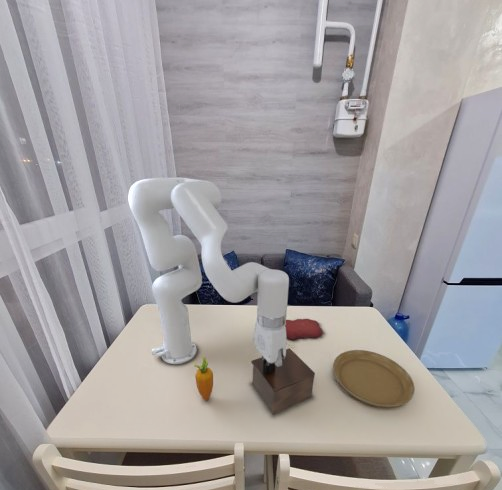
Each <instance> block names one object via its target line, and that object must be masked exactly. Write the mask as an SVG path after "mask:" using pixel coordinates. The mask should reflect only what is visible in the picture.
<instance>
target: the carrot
mask: <svg viewBox="0 0 502 490" xmlns="http://www.w3.org/2000/svg"><path fill="white" fill-rule="evenodd" d="M201 358H202V359H201V360H202V362H201V365H198V364H193V366H194V367H196V368H198V369H197V370H196V373H195V376H194V378H195V384H196V388H197V390H198V393H199V395H200V396H201V398H202V399H203V400H204V401H206V402H207V401H209V399H210V398H211V395H212V393H213V388H214V387H213V386H214V372H213V371H212V369H211V368H210V367H208V366H209V362H208V361H207V359H206V357H201Z"/></svg>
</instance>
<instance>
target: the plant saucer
mask: <svg viewBox="0 0 502 490" xmlns="http://www.w3.org/2000/svg"><path fill="white" fill-rule="evenodd" d="M332 369H333V374H334V376H335V378H336V381H337V382H338V383H339V386H341V387H342V388H343V389H344V391H345V392H347V393H348V394H349V395H350V396H352V397H353V398H354V399H356V400H358V401H360V402H363V403H365V404H367V405H369V406H373V407H377V408H388V409H389V408H398V407H400V406H404V405H406V404H407V403H408V402H410V401H411V400H412V399H413V398H414V395H415V388H416V387H415V384H414V380H413V379H412V377H411V376H410V374H409V373H408V372H407V370H406V369H405V368H403V366H401V364H399V363H398V362H396V361H395V360H393V359H392V358H389V357H388V356H385V355H383V354H381V353H377V352H375V351H370V350H365V349H351V350H346V351H343V352H341V353H339V354H338V355H337V356H336V357H335V359H334V361H333V364H332Z"/></svg>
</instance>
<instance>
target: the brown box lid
mask: <svg viewBox="0 0 502 490" xmlns="http://www.w3.org/2000/svg"><path fill="white" fill-rule="evenodd" d="M263 361H264V360H263V358H262V356H261V357H258V358H255V359H252V360H251V361H250V363H251V364H252V367H253V366H254V367H255V368H256V370H257V371H258V372H259V374H260V375H261V376H262V378H263V379H264V380H265V382H266V383H267V384H268V386H269V387H270V388H271V390H272V391H276V390H278V389H281V388H283V387H286V386H288V385H291V384H293V383H296V382H298V381H301V380H303V379H306V378H308V377H311V376H313V375H315V374H316V373H315V371H314V370H313V369H311V367H309V366H308V365H307V363H305V362H304V361H303V359H301V357H300V356H299V355H297V353H295V352H294V350H293V349H292V348H290V347H289V348H286V356H285V359H282V366H279V367H277V366H275V372H273V373H270V374H268V375H266V374H265V373H264V372H263ZM315 376H316V375H315Z"/></svg>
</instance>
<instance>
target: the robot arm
mask: <svg viewBox="0 0 502 490" xmlns="http://www.w3.org/2000/svg"><path fill="white" fill-rule="evenodd" d="M222 200H223V199H222V194H221V191H220V189H219V187H218V186H217V185H216V184H215V183H214V182H212V181H210V180H206V179H205V180H204V179H198V178H197V179H196V178H188V177H181V176H180V177H179V176H177V177H173V176H172V177H152V178H151V177H150V178H144V179H140V180H137V181H136V182H134V183H133V184H132V185H131V186H130V188H129V190H128V200H127V201H128V204H129V205H128V206H129V208H130V212H131V213H132V216H133V218H134V219H135V221H136V223H137V225H138V228H139V231H140V234H141V238H142V241H143V245H144V249H145V252H146V255H147V258H148V262H149V264H150V266H151V268H152V269H154V270H155V271H157V272H164V271H168V270H170V269H173V268H175V267H178V268H177V269H174V270H172V271H169V272H167V273H164V274H162V275H159V277H157V278H156V279H155V280H154V281H153V283H152V285H151V291H152V295H153V297H154V300H155V304H156V305H157V309H158V315H159V320H160V326H161V332H162V339H163V342H162V345H160V346H159V347H155V348H151V349H150V352H151V354H152V356H154V355H155V356H156V358H158V357H161V359H162V360H163V362H165V363H167V364H171V365H181V364H184V363H188V362H189V361H191V360H192V359H194V357H195V356H196V355H197V353H198V352H197V346H196V344H195V343H194V342H193V341H192V334H191V333H192V332H191V323H190V314H189V309H188V306H187V305H186V304H185V303H183V301H182V300H183V299H185V297H187V296H188V295H191V294H193V293H194V292H197V291H198V290H199V289H200V288H201V286H202V284H203V277H202V276H203V275H202V272H201V265H200V261H199V257H198V252H197V249H196V246H195V244H194V242H193V241H192V240H191V238H189V236H188V235H187V236H186V235H183V234H177V235H172V232H171V227H170V224H169V222H168V221H167V219H166V218H165V216H163V214H162V213H160V211H164V210H171V209H175V210H176V212H177V213H178V215H179V216H180V217H181V219H182V220H183V222H184V224H185V225H186V226H187V227H188V228H189V230H190V231H191V232H192V234H193V235H194V237H195V238H196V239H197V241H198V243H199V244H200V247H201V255H200V256H201V262H202V268H203V270H204V273H205V277H206V278H207V279H208V281H209V283H210V284H211V285H212V286H213V288H214V289H215V290H216V291H217V293H218V294H219V296H220V297H222V298H223V299H224V300H225V301H227V302H229V303H240V302H242V301H244V300H245V299H247V298H248V297H249V296H251V295H253V294H254V293H257V299H256V300H257V301H256V304H257V305H256V319H255V322H254V323H255V324H254V330H253V345H254V347H255V349H256V350H257V351H258V352H259V353H260V354H261V357H262V358H263V360H264V361H263V372H264V373H265V374H266V375H268V374H270V373H273V372H275V366H277V367H279V366H282V359H285V356H286V349H287V337H286V327H285V325H286V320H287V313H288V312H287V311H288V300H289V287H290V278H289V275H288V274H287V273H286V272H285V271H283V270H280V269H271V268H269V267H268V266H265V265H263V264H261V263H258V262H256V261H255V262H254V261H250V262H246V263H244V264H242V265H240V266H238V267H236V268H235V269H233V270H232V269H231V267H230V266H229V264H228V263H227V261H226V260H225V259H224V256H223V253H222V240H223V239H224V238H225V236H226V235H227V234H228V232H229V226H228V223H227V222H226V220H225V219H223V217H222V215H221V214H220V213H219V212H218V209H219V208H220V207H221V204H222Z"/></svg>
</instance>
